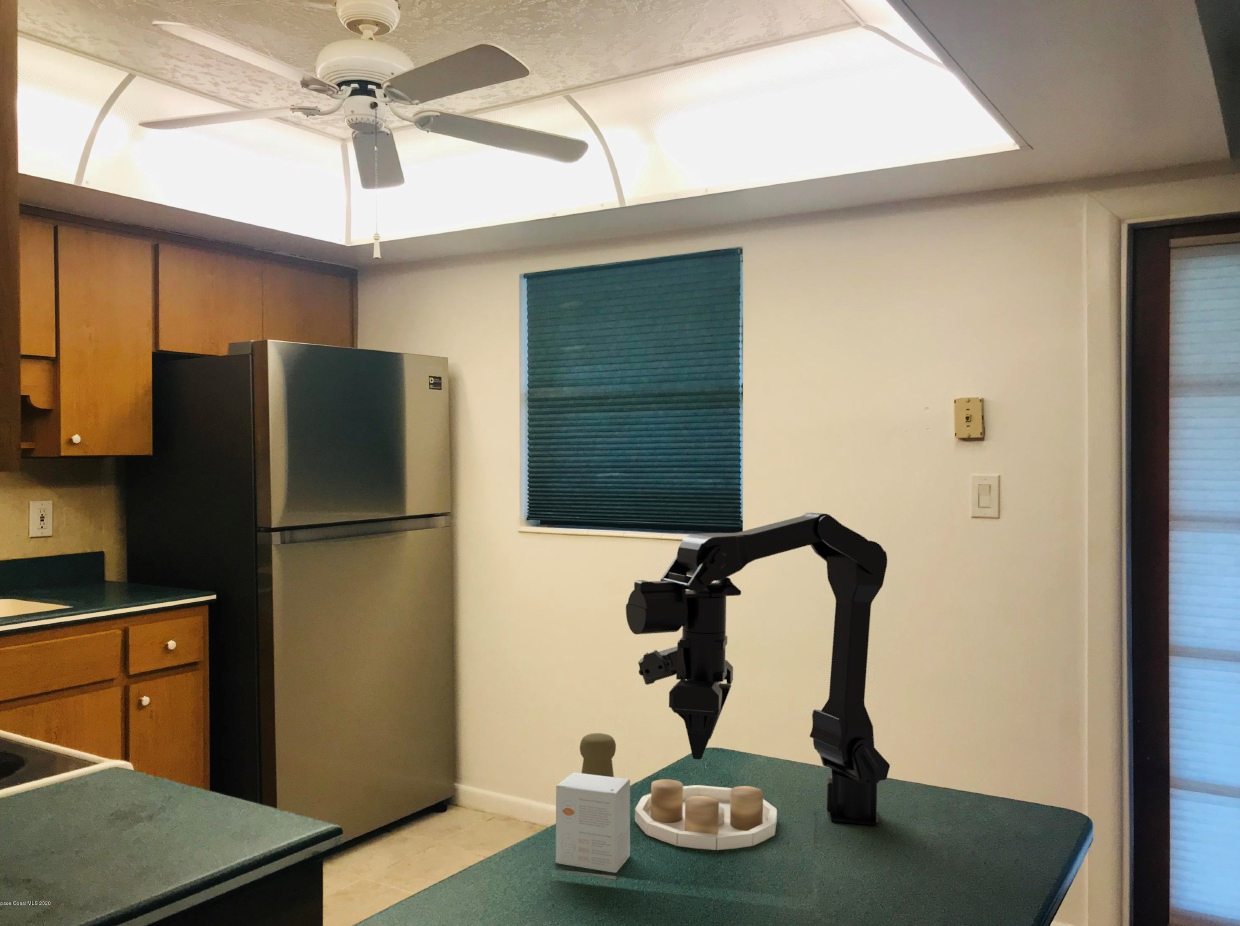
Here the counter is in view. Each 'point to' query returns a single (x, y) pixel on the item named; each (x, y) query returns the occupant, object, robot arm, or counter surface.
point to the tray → (722, 840)
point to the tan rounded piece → (746, 807)
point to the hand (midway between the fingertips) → (702, 748)
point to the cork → (598, 754)
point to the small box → (593, 823)
